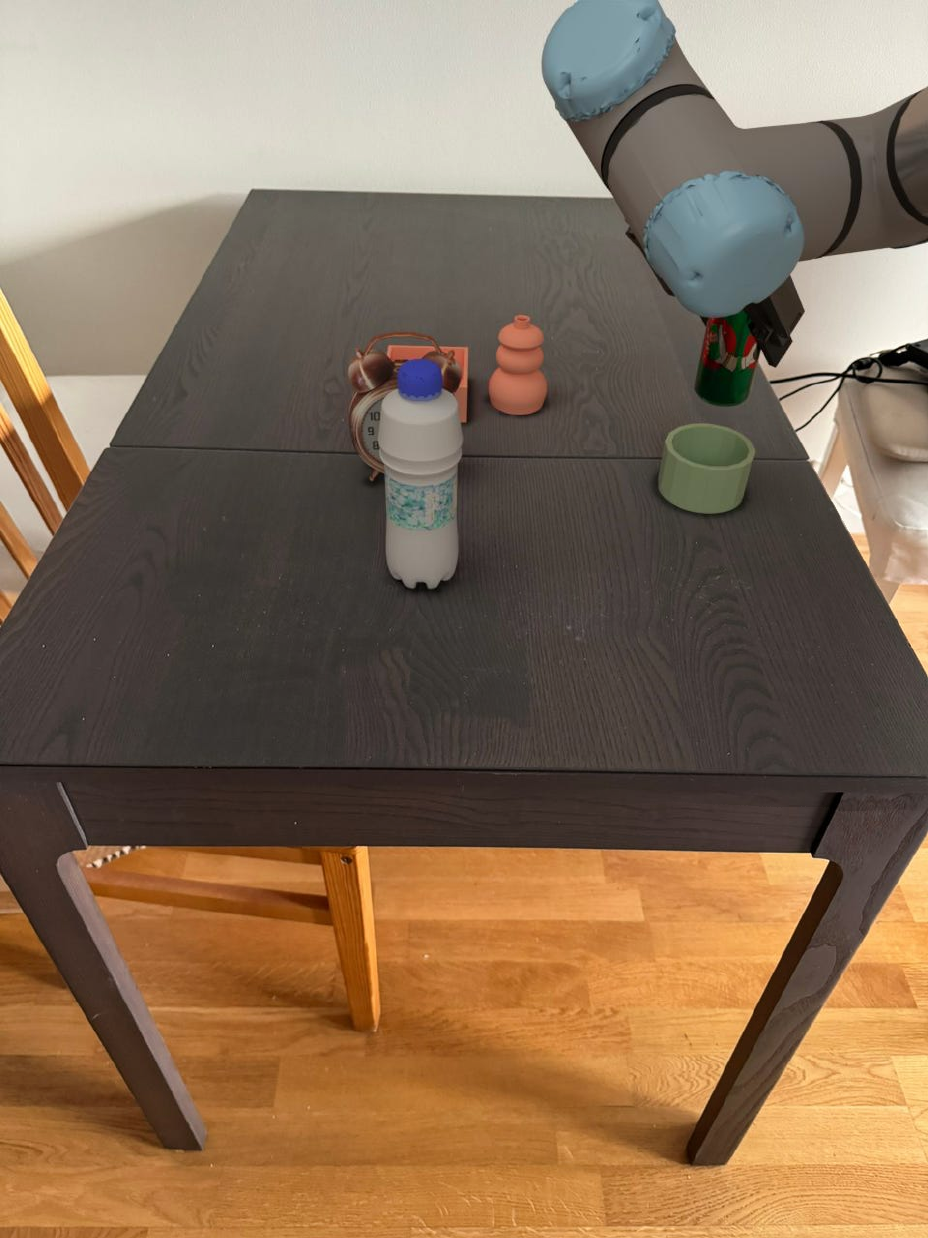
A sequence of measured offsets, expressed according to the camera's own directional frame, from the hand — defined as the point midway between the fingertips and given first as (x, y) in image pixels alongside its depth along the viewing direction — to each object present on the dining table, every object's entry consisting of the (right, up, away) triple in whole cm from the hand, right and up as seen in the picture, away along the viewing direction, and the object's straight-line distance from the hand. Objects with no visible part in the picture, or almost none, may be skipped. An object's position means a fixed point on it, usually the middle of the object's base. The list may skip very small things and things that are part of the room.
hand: (753, 342), depth 85 cm
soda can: (-3, -5, +1) cm, 6 cm away
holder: (-3, -12, +8) cm, 15 cm away
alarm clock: (-32, -11, +9) cm, 35 cm away
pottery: (-26, -1, +20) cm, 33 cm away
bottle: (-30, -21, -3) cm, 37 cm away
